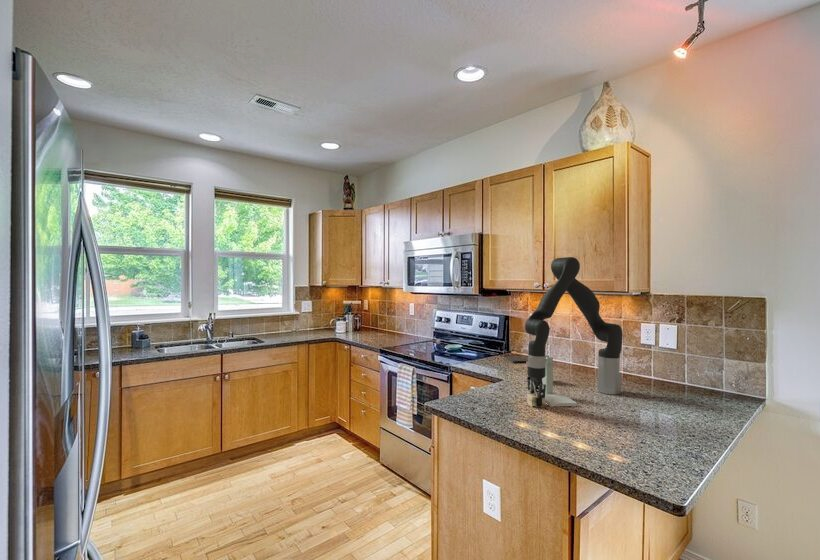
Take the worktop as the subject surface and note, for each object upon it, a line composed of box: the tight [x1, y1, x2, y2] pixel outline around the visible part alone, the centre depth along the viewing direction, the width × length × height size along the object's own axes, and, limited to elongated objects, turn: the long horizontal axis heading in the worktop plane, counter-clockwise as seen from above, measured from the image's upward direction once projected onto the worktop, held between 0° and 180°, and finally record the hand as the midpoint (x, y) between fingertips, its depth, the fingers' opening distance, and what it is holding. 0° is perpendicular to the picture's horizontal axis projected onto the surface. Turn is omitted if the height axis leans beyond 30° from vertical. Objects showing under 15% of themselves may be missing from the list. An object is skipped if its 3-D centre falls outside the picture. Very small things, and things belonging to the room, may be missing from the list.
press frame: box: [542, 355, 578, 407], centre depth 175 cm, size 12×18×18 cm, turn 6°
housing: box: [526, 392, 546, 407], centre depth 168 cm, size 6×5×5 cm
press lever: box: [505, 355, 551, 365], centre depth 180 cm, size 20×10×2 cm, turn 96°
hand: (535, 403), depth 168 cm, fingers open, 5 cm apart
